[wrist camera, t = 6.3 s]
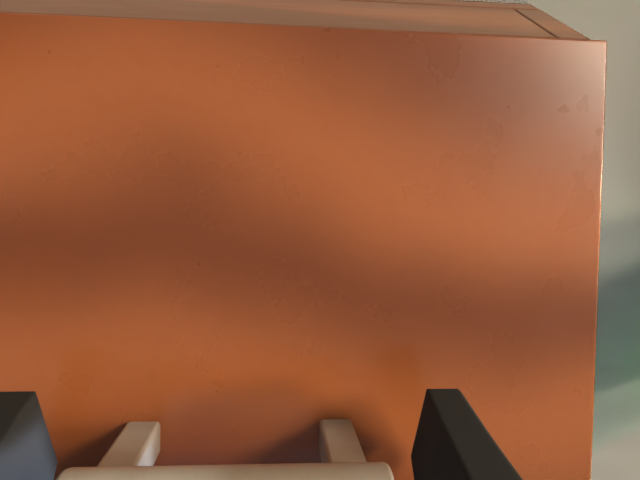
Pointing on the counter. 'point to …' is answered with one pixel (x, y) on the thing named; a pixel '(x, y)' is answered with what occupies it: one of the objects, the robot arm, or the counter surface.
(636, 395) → the counter surface
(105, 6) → the brown wooden box
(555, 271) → the lid
